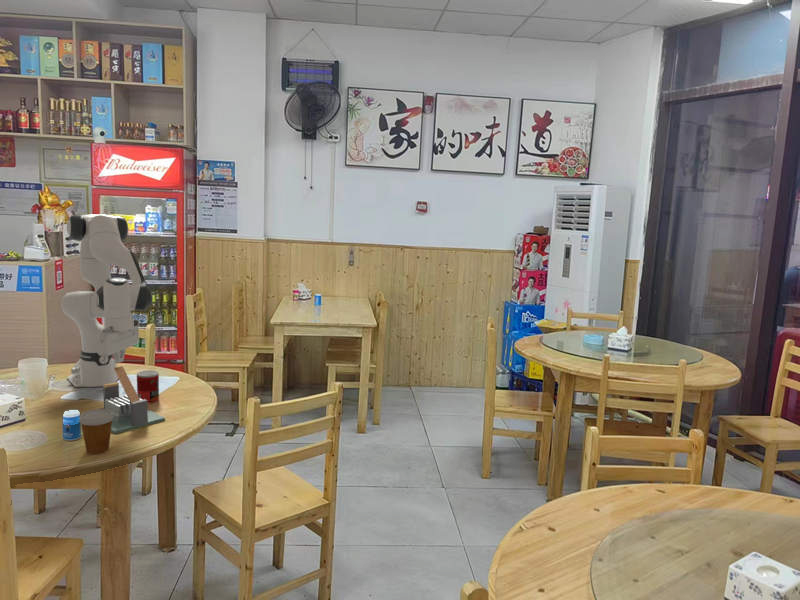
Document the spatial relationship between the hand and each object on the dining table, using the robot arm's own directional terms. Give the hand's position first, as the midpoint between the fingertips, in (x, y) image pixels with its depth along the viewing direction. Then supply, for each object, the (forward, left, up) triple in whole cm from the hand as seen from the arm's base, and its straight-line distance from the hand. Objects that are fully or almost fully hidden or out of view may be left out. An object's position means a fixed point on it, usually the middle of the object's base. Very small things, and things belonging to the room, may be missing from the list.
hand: (119, 362), depth 210 cm
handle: (+5, 0, -9) cm, 10 cm away
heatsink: (+3, 0, -20) cm, 21 cm away
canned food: (-10, +16, -20) cm, 28 cm away
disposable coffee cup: (+23, -19, -20) cm, 36 cm away
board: (+2, 0, -20) cm, 20 cm away
